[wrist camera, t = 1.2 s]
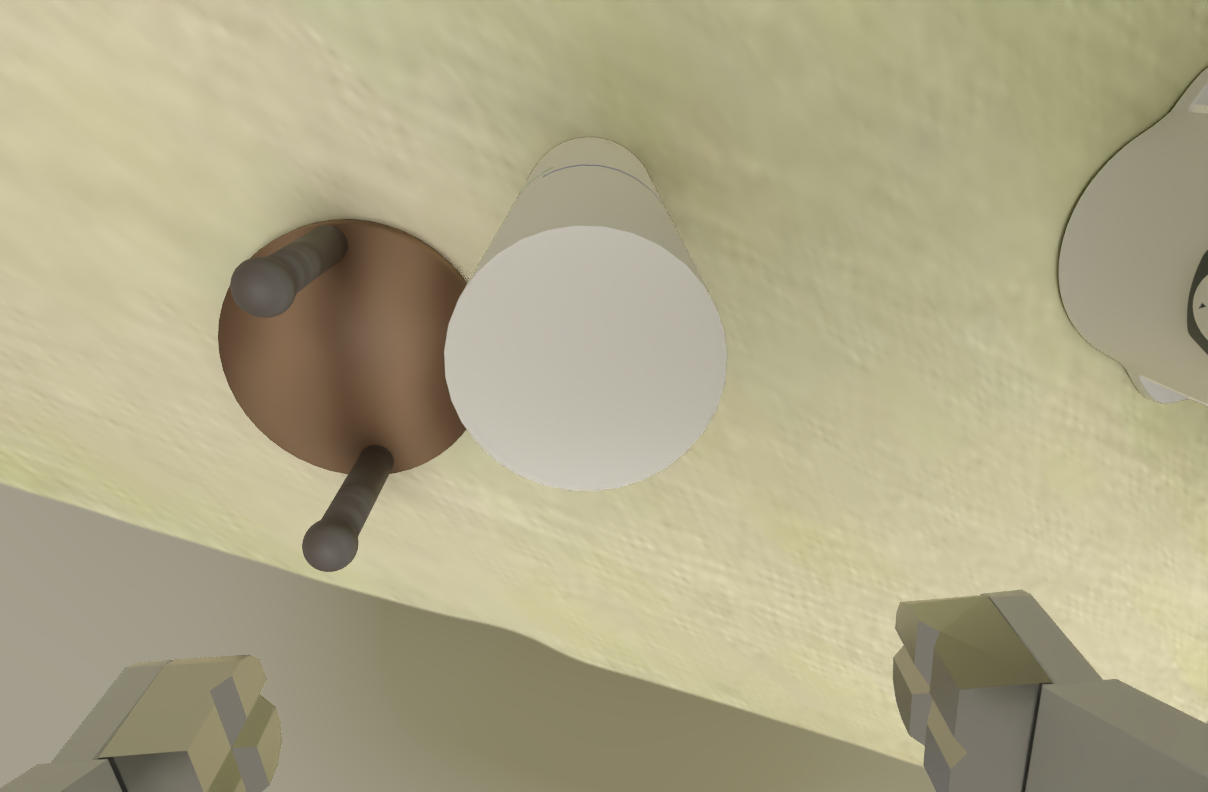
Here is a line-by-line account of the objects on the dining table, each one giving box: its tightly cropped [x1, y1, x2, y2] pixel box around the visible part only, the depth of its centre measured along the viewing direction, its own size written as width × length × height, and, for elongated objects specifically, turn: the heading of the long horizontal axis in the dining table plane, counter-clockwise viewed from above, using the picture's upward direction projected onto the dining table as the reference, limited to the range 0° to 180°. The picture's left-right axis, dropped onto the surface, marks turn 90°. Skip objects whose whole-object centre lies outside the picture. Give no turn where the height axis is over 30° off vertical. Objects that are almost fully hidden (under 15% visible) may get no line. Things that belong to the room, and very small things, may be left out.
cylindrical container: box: [444, 137, 727, 491], centre depth 32 cm, size 7×7×25 cm
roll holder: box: [218, 219, 467, 572], centre depth 41 cm, size 15×16×12 cm
